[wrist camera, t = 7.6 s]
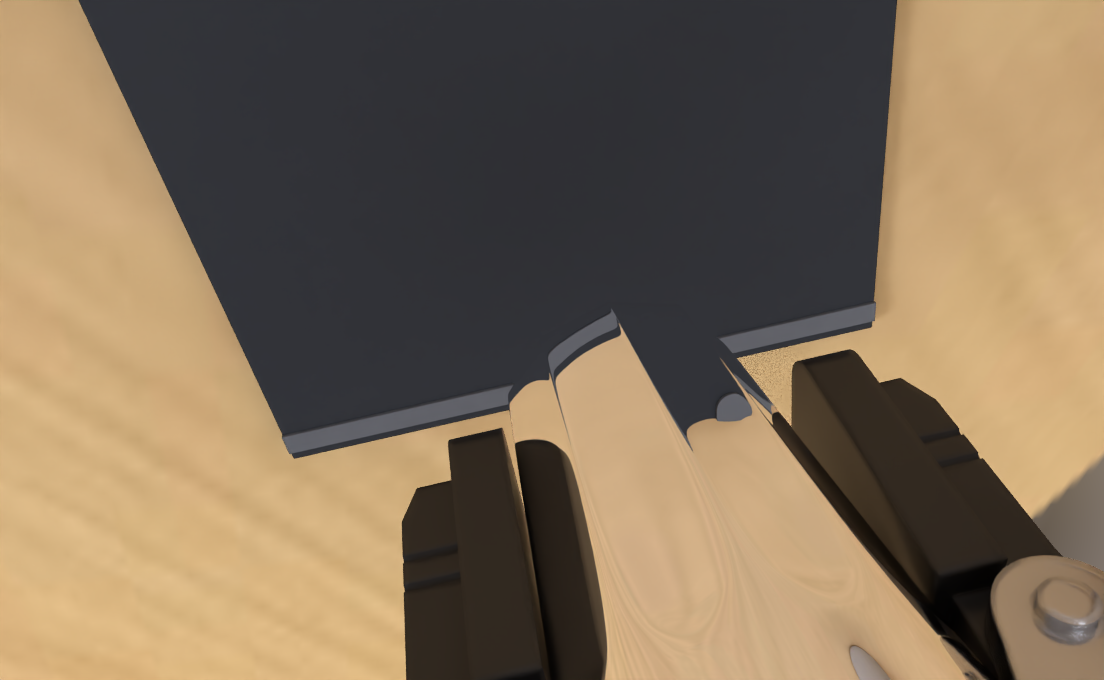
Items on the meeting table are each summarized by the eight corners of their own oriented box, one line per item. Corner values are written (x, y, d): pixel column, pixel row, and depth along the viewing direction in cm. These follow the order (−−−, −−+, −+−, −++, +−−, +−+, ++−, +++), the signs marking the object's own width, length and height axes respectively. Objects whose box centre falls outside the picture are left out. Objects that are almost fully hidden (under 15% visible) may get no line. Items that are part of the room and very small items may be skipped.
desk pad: (294, 449, 24) (293, 462, 23) (29, -122, 15) (20, -117, 15) (865, 319, 24) (874, 330, 24) (910, -300, 16) (924, -300, 16)
